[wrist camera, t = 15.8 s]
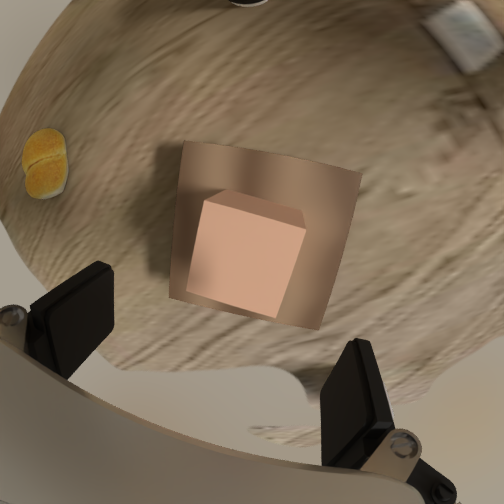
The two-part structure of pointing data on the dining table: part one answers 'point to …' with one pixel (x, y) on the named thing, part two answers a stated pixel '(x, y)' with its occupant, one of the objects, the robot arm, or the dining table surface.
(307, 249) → the walnut block
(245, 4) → the dixie cup
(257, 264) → the terracotta cube
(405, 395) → the dining table surface
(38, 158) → the bread roll
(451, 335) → the dining table surface
